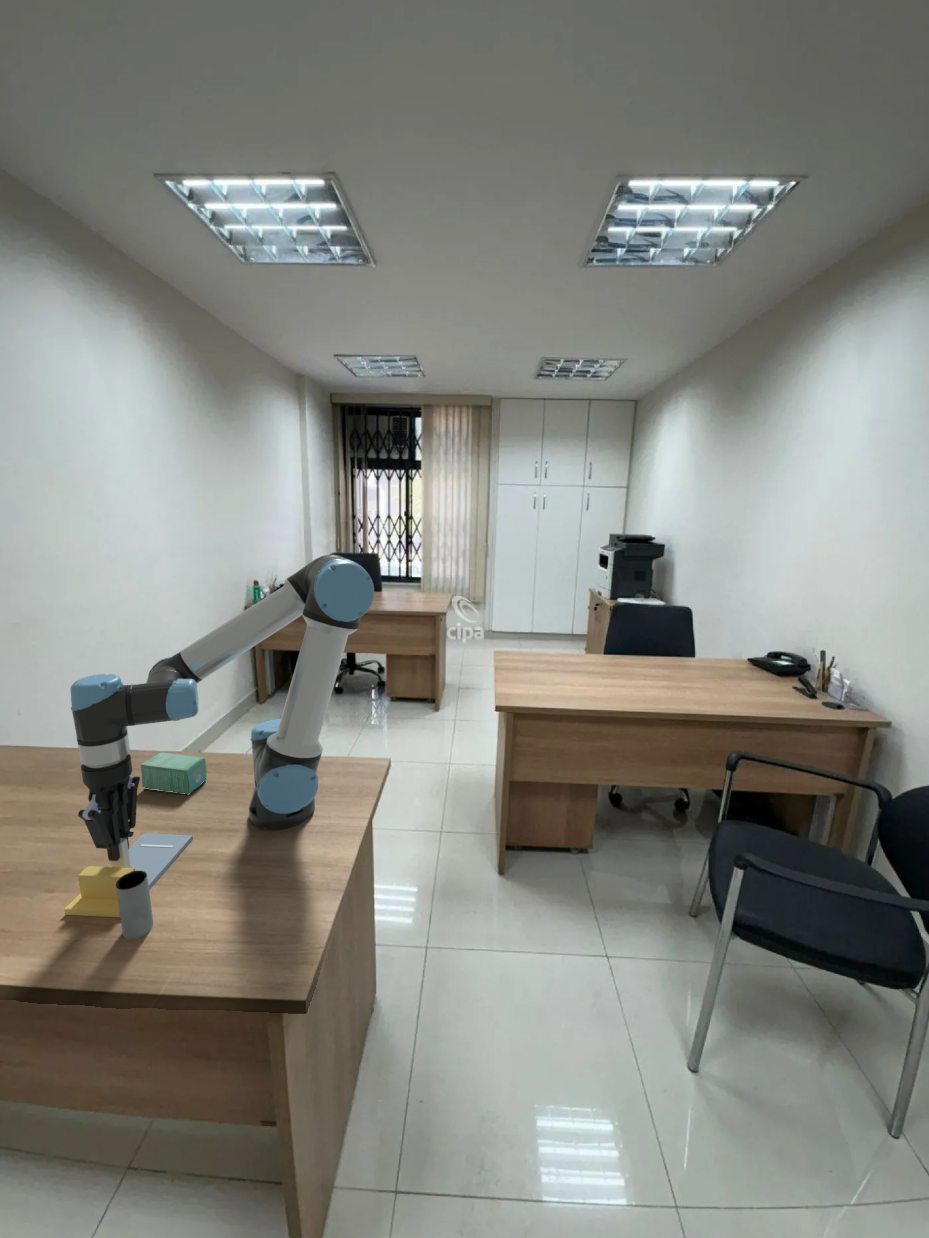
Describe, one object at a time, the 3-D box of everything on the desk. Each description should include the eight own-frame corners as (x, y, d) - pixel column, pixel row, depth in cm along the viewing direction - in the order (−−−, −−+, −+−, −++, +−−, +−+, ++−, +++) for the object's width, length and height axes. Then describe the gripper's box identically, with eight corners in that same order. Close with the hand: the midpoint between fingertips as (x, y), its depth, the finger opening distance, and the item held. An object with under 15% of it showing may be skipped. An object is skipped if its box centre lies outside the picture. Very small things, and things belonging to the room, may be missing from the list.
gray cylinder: (132, 920, 90) (125, 870, 88) (158, 919, 91) (152, 869, 88) (117, 941, 86) (109, 890, 84) (145, 940, 86) (138, 888, 84)
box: (190, 796, 129) (187, 769, 127) (142, 791, 131) (139, 764, 129) (208, 781, 136) (205, 755, 134) (163, 776, 138) (160, 751, 136)
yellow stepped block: (145, 894, 96) (141, 866, 95) (124, 917, 91) (120, 888, 89) (88, 891, 96) (84, 864, 95) (65, 914, 91) (59, 886, 89)
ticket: (193, 840, 112) (192, 834, 112) (146, 894, 96) (145, 888, 96) (144, 838, 112) (143, 832, 112) (90, 891, 97) (89, 885, 96)
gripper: (111, 741, 99) (126, 847, 104) (56, 776, 86) (75, 894, 91) (149, 743, 99) (161, 848, 104) (99, 778, 86) (116, 896, 91)
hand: (121, 870), depth 98 cm, fingers closed
